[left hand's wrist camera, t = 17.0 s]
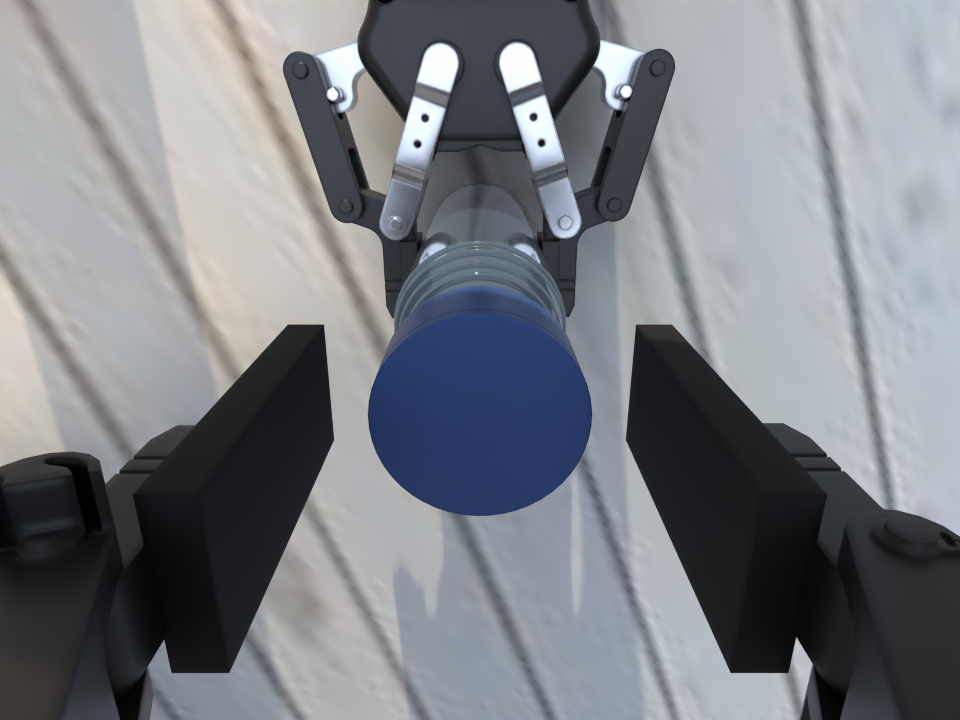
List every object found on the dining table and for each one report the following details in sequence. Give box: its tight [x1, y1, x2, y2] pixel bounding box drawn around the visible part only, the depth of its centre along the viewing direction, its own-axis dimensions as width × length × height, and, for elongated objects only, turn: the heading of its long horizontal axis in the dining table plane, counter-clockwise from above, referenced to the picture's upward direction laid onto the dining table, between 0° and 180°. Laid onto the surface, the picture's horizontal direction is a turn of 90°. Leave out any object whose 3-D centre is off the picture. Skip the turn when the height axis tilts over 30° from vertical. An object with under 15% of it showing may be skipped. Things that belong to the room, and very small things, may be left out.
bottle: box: [394, 184, 566, 333], centre depth 22 cm, size 5×5×20 cm
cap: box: [368, 286, 592, 516], centre depth 13 cm, size 4×4×2 cm
